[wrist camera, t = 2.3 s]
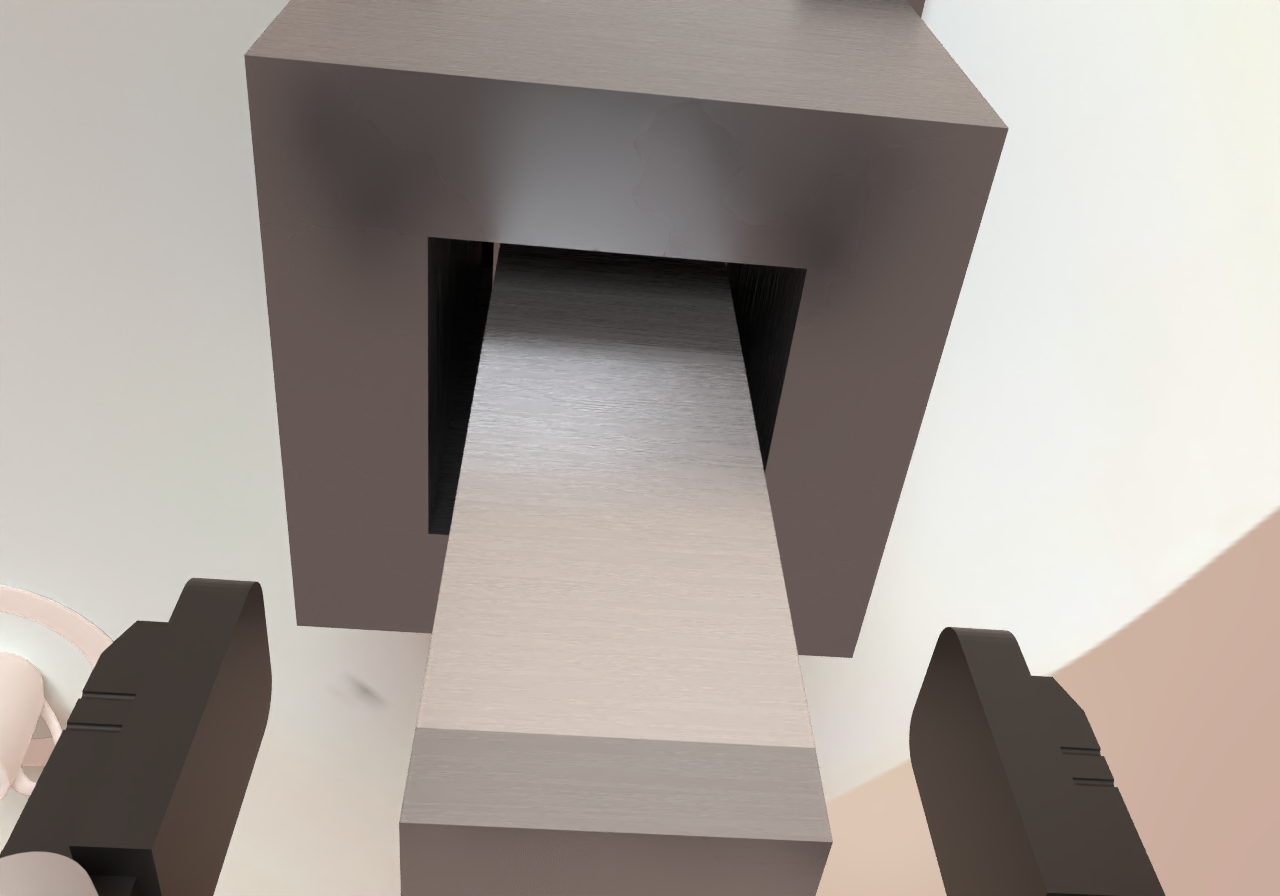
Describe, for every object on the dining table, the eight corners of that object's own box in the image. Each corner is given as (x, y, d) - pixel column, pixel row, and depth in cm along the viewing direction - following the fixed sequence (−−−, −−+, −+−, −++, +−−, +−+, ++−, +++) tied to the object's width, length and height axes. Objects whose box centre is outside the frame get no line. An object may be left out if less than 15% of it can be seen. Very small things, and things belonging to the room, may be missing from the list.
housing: (320, -161, 22) (116, -11, 13) (930, -93, 23) (1142, 92, 14) (346, 371, 29) (226, 715, 20) (815, 406, 30) (907, 751, 21)
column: (522, 70, 25) (379, 809, 9) (702, 88, 25) (853, 831, 10) (514, 237, 27) (390, 1055, 12) (680, 251, 27) (774, 1067, 12)
